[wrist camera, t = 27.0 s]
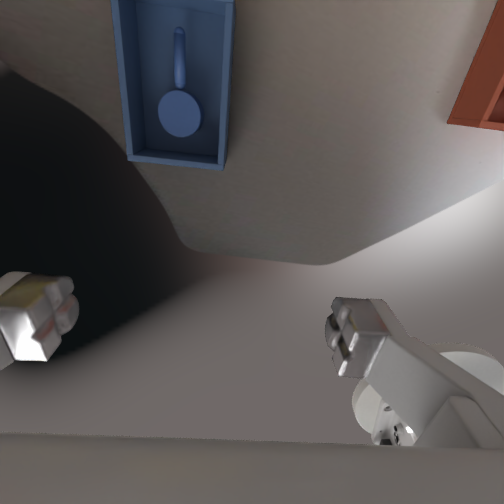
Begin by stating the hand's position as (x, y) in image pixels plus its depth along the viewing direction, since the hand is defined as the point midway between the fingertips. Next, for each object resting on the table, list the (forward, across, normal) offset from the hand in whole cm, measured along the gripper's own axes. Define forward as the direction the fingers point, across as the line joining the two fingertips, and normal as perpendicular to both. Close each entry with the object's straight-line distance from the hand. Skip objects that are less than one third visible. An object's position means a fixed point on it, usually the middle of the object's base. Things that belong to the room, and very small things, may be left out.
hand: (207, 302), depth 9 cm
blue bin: (+25, +6, -6) cm, 26 cm away
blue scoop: (+25, +5, -6) cm, 26 cm away
